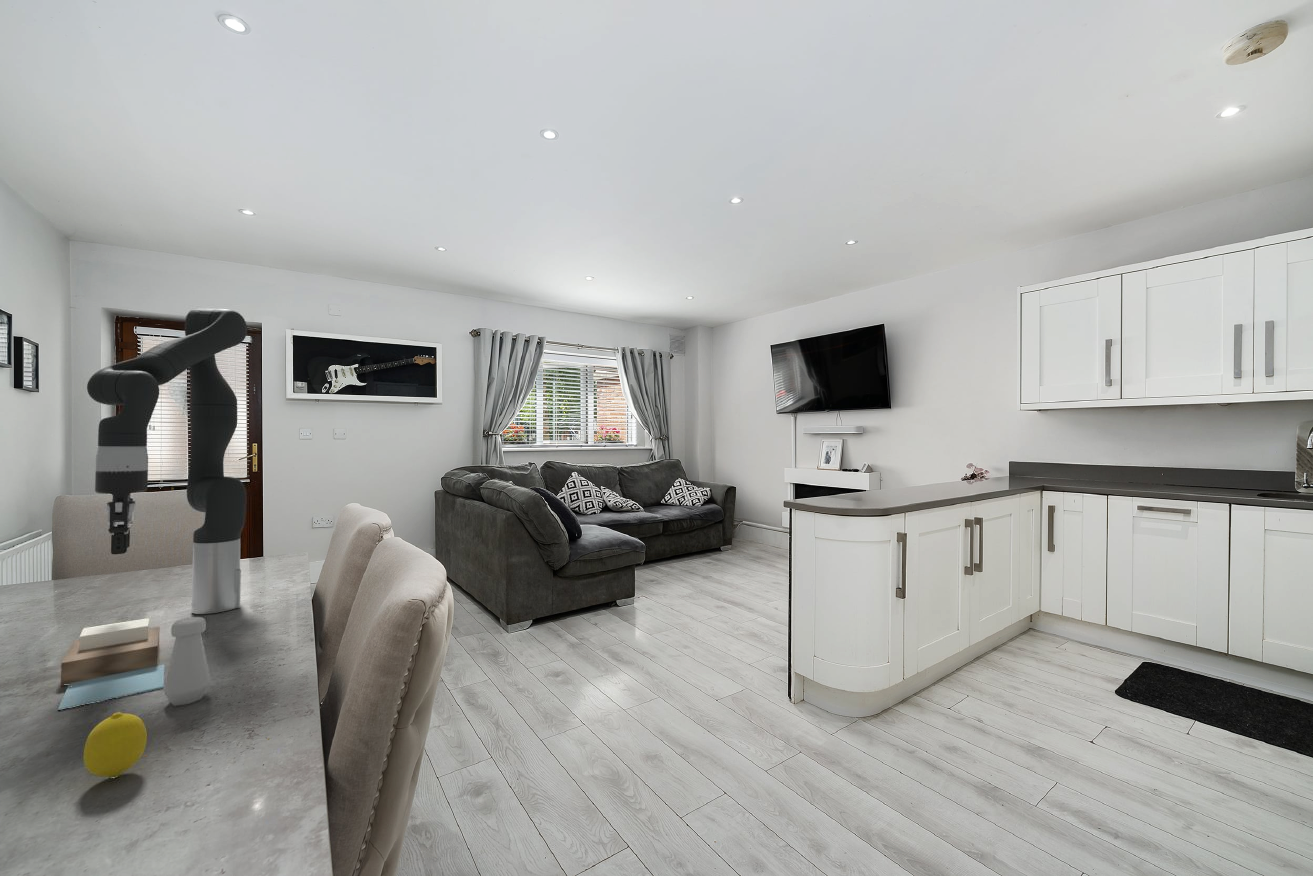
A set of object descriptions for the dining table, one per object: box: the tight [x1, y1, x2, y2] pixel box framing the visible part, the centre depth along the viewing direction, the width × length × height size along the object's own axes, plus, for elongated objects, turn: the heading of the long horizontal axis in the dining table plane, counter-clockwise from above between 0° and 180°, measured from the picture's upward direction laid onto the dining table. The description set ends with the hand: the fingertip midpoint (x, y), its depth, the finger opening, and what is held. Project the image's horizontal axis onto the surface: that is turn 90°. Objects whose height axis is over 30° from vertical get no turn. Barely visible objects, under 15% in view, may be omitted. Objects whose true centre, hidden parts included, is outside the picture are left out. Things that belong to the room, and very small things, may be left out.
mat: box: [57, 664, 166, 711], centre depth 91 cm, size 12×12×1 cm
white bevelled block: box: [78, 617, 150, 651], centre depth 102 cm, size 9×6×2 cm, turn 132°
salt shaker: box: [163, 616, 212, 707], centre depth 87 cm, size 6×6×13 cm
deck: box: [60, 626, 161, 686], centre depth 100 cm, size 12×14×4 cm
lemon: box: [83, 711, 148, 778], centre depth 66 cm, size 6×6×8 cm
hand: (120, 550), depth 108 cm, fingers open, 7 cm apart
